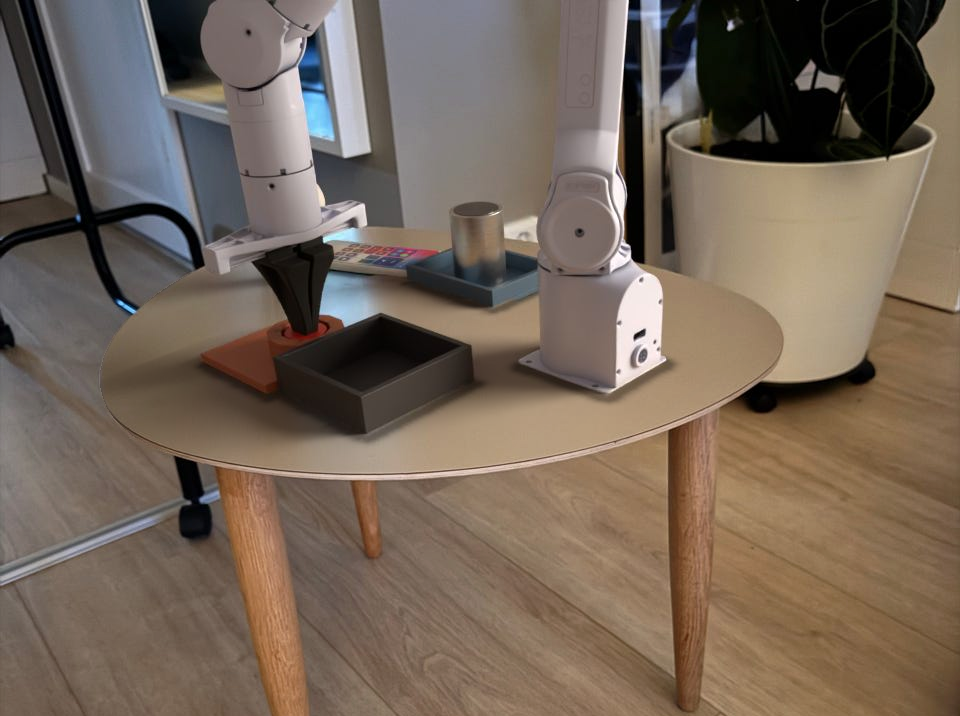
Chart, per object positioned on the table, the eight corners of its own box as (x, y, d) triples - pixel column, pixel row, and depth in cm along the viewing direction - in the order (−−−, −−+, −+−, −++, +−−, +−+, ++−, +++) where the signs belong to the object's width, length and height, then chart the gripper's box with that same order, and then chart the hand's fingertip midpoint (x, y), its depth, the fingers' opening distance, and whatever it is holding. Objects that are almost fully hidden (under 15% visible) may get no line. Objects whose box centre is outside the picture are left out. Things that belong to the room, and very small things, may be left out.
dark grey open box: (475, 384, 76) (471, 344, 74) (366, 439, 69) (360, 397, 68) (385, 349, 83) (380, 312, 81) (279, 396, 76) (271, 356, 75)
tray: (557, 282, 94) (557, 263, 93) (493, 311, 88) (491, 291, 87) (471, 258, 101) (470, 240, 100) (407, 284, 96) (405, 265, 95)
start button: (337, 345, 81) (335, 328, 80) (303, 359, 79) (300, 342, 78) (312, 335, 83) (310, 318, 82) (279, 348, 81) (275, 332, 80)
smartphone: (330, 238, 107) (446, 250, 101) (331, 246, 108) (447, 258, 102) (291, 258, 102) (412, 272, 96) (293, 267, 102) (412, 281, 96)
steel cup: (517, 276, 95) (514, 206, 91) (480, 291, 92) (475, 220, 88) (480, 265, 98) (476, 197, 94) (444, 280, 95) (437, 210, 91)
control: (363, 358, 82) (358, 325, 80) (269, 399, 76) (262, 366, 74) (294, 329, 88) (289, 299, 86) (203, 365, 82) (195, 334, 81)
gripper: (321, 141, 80) (343, 294, 87) (166, 182, 71) (206, 347, 79) (374, 152, 75) (393, 312, 82) (216, 196, 67) (253, 370, 74)
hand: (305, 330), depth 80 cm, fingers closed, pressing on start button
